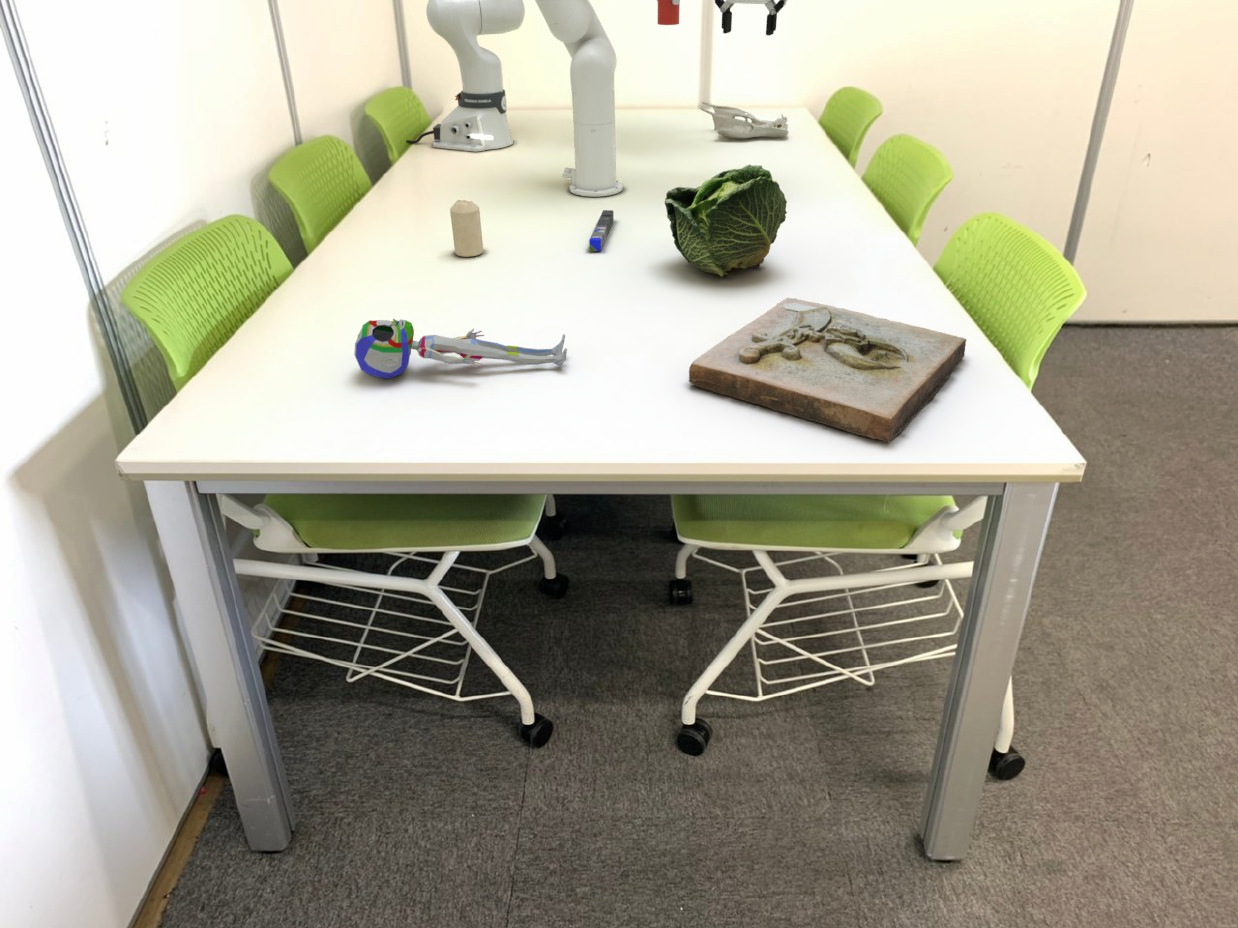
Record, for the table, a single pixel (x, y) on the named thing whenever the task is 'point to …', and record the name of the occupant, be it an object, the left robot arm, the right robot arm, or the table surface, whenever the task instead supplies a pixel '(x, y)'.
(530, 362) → the toy
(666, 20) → the canister
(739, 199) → the vegetable
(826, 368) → the plaque
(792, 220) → the table surface
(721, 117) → the anatomical model
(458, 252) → the candle
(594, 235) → the pillar
